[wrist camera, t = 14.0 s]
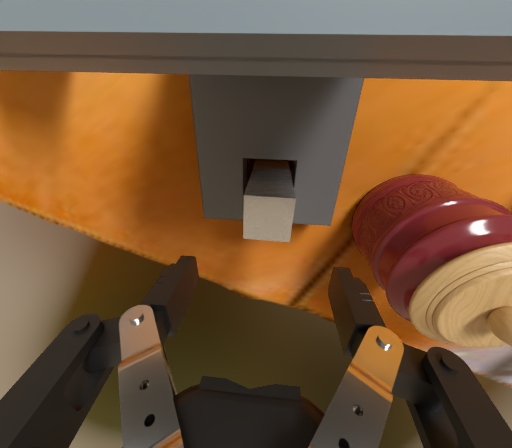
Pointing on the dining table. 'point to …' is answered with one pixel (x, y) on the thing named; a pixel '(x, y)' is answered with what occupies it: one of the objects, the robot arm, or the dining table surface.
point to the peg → (269, 202)
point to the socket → (273, 137)
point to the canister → (440, 258)
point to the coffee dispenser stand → (262, 37)
